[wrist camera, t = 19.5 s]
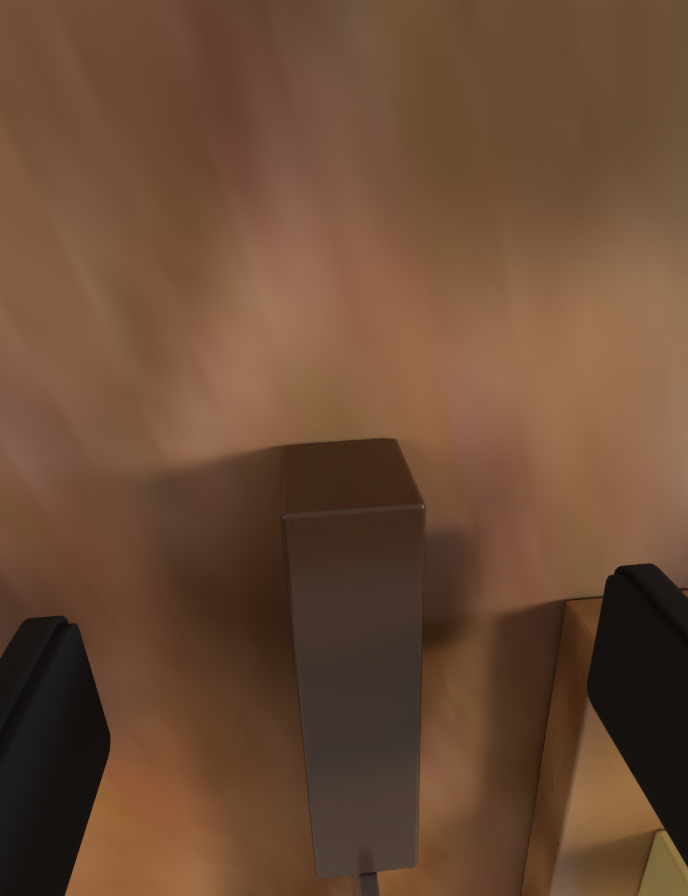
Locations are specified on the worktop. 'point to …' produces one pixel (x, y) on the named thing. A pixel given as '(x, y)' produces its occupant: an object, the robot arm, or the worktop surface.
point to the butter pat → (664, 869)
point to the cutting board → (585, 787)
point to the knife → (357, 649)
